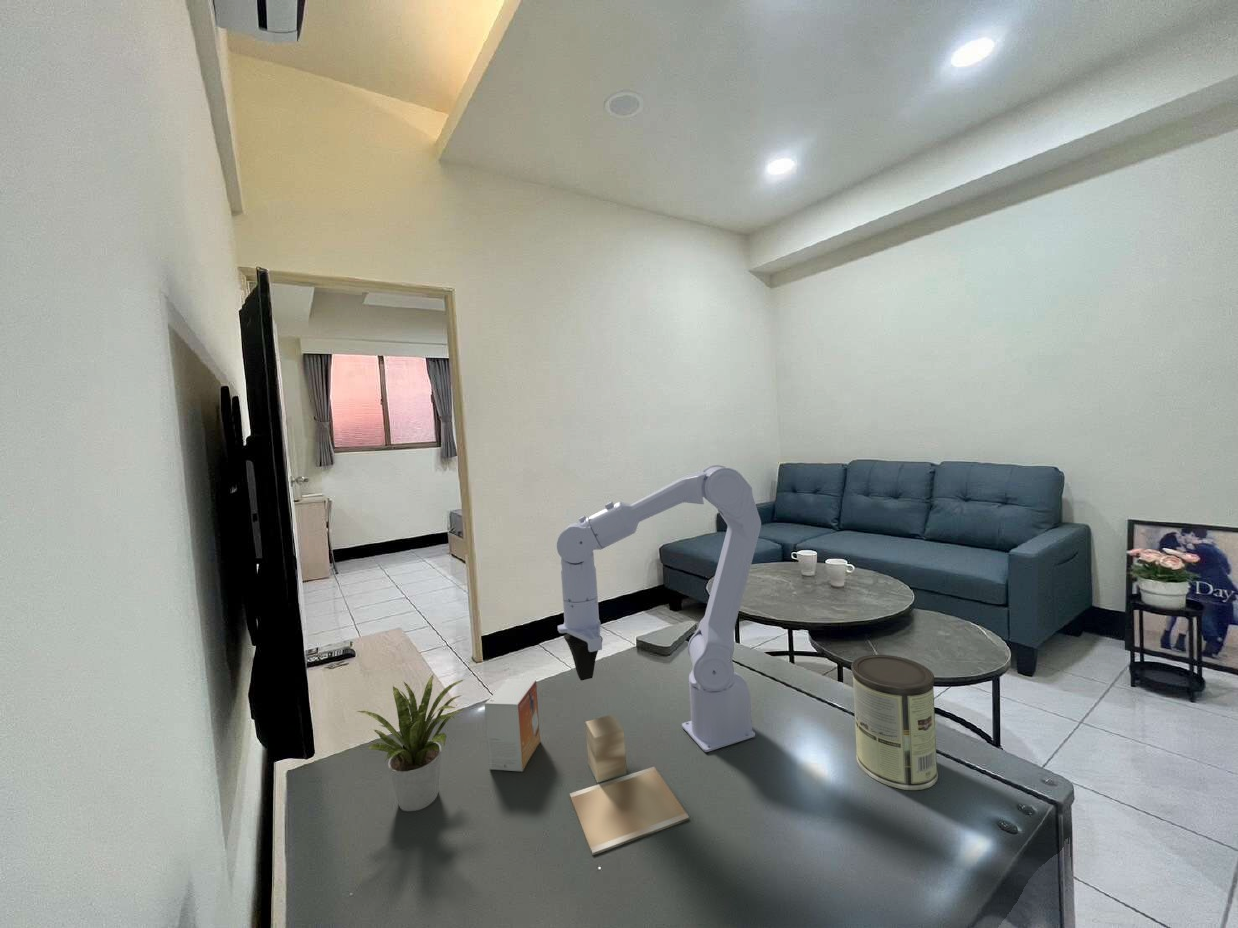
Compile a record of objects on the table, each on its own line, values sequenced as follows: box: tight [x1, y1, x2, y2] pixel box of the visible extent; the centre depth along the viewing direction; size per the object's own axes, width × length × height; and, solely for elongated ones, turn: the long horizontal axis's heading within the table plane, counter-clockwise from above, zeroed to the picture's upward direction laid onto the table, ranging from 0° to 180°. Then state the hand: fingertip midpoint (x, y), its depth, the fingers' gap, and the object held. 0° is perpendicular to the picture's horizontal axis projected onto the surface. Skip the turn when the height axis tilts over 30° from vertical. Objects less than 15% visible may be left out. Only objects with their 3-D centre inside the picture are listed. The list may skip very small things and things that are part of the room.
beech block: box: [585, 714, 628, 785], centre depth 72 cm, size 4×4×7 cm
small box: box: [484, 678, 541, 772], centre depth 77 cm, size 8×6×10 cm
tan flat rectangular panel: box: [569, 766, 690, 856], centre depth 65 cm, size 13×11×1 cm
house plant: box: [356, 674, 466, 812], centre depth 69 cm, size 14×14×16 cm
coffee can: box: [850, 654, 939, 791], centre depth 69 cm, size 10×10×14 cm
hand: (585, 677), depth 80 cm, fingers closed
